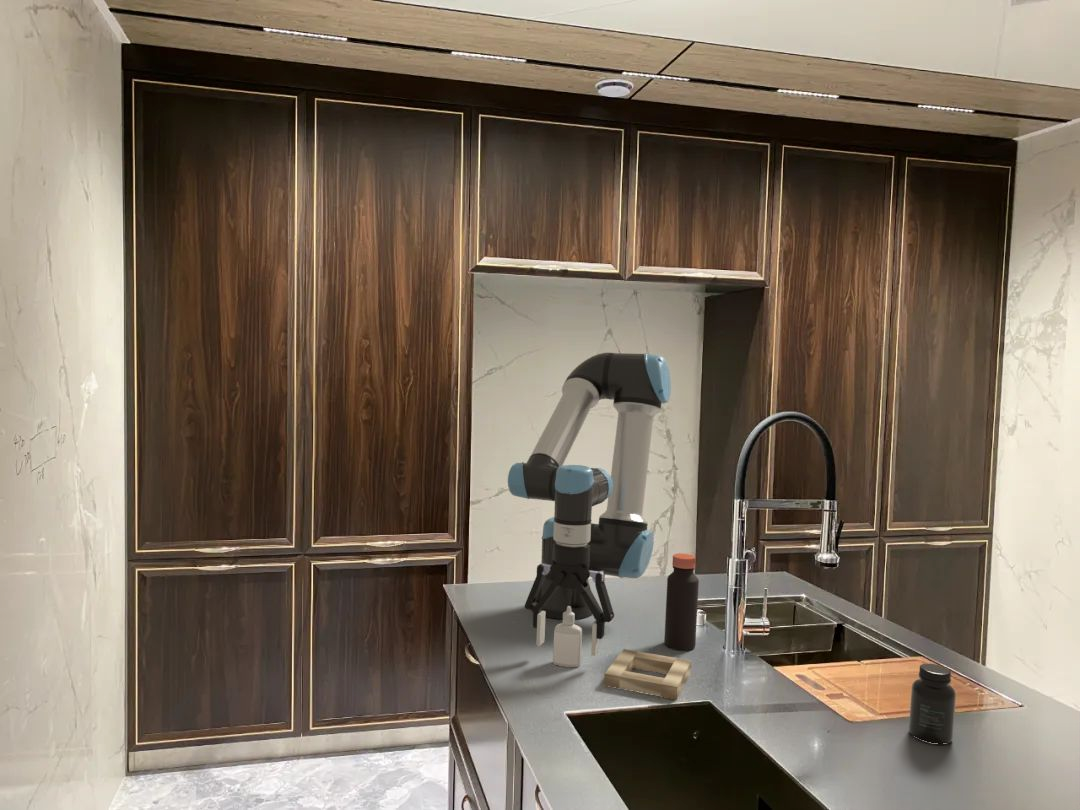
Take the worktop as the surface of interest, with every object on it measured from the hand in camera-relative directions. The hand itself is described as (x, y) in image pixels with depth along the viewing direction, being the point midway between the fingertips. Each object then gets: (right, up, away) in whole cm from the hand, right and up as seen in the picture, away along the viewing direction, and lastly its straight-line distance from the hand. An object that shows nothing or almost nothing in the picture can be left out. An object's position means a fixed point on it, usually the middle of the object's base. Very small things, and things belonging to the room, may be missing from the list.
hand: (567, 648), depth 165 cm
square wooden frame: (+16, -4, -6) cm, 17 cm away
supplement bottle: (+62, -8, -25) cm, 67 cm away
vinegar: (+25, -3, +13) cm, 29 cm away
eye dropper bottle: (0, -4, 0) cm, 4 cm away
